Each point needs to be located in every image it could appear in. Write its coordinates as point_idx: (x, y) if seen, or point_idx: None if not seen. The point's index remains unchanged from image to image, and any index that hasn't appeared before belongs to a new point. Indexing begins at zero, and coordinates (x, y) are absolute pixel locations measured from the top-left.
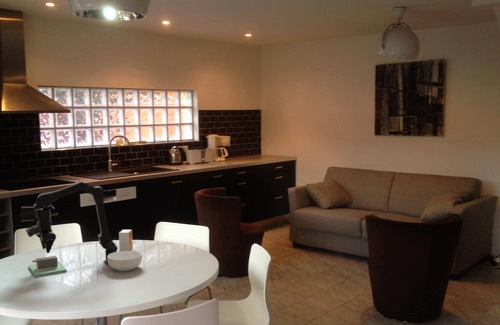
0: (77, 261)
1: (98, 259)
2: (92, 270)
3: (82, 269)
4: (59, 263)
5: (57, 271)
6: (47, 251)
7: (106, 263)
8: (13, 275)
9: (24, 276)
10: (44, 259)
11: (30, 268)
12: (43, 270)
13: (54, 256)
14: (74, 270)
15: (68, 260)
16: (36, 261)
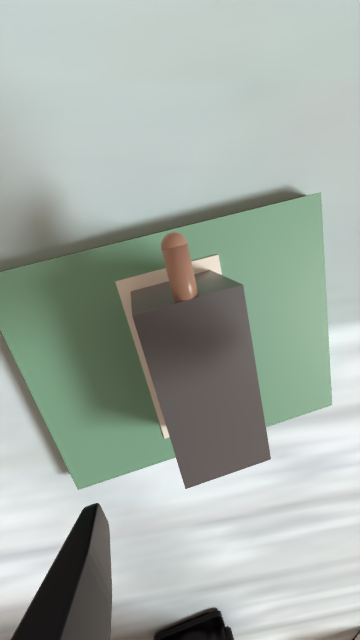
0: (292, 494)
1: (274, 578)
2: None
3: None
4: None
5: (54, 436)
6: (75, 542)
7: (164, 634)
8: (116, 47)
9: (46, 168)
10: (168, 382)
11: (224, 216)
12: (104, 335)
13: (245, 457)
14: None
15: (340, 446)
16: (172, 292)
